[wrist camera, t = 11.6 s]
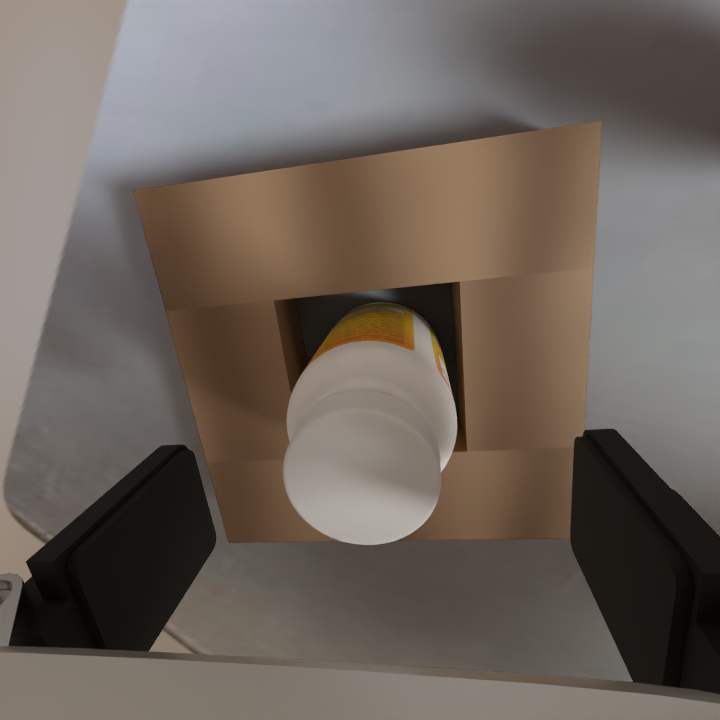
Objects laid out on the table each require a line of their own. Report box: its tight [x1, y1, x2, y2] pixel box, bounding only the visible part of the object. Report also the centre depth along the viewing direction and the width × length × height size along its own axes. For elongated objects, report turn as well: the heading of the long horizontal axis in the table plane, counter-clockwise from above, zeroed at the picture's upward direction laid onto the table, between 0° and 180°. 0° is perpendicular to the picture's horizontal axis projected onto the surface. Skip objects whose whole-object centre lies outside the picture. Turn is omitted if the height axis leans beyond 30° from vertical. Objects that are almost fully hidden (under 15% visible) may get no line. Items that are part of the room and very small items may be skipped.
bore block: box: [133, 121, 602, 543], centre depth 18 cm, size 16×16×3 cm
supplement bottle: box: [283, 302, 457, 545], centre depth 15 cm, size 5×5×10 cm
